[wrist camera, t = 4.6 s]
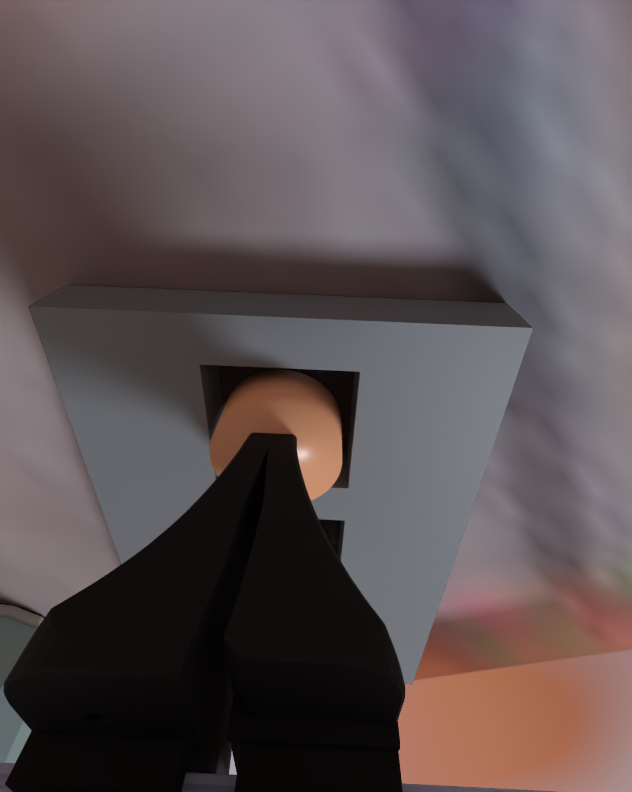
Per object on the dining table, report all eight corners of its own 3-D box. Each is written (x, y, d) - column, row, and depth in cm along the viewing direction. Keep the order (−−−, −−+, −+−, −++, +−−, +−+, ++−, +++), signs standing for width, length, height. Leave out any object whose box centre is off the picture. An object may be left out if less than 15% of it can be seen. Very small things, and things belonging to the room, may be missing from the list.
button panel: (507, 303, 13) (533, 327, 11) (406, 645, 24) (412, 684, 22) (67, 284, 13) (28, 306, 11) (171, 633, 24) (159, 670, 23)
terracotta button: (345, 372, 13) (346, 407, 11) (337, 467, 15) (338, 509, 13) (219, 366, 13) (202, 401, 11) (229, 462, 15) (216, 503, 13)
